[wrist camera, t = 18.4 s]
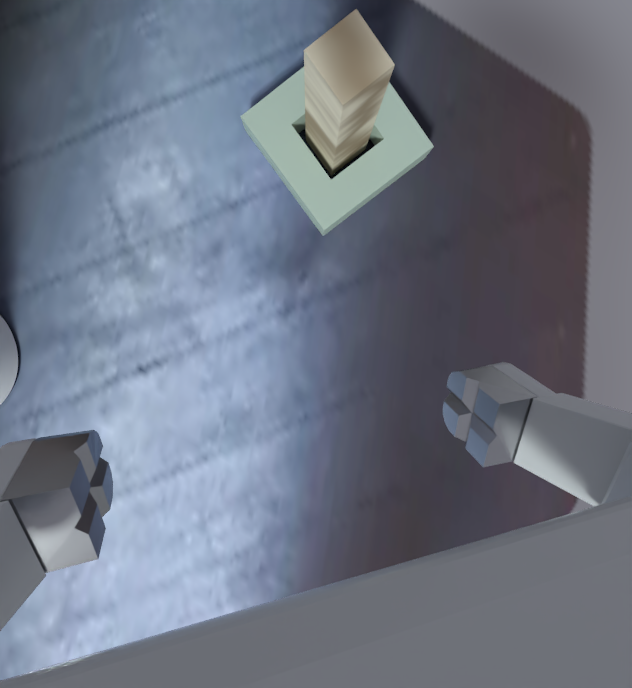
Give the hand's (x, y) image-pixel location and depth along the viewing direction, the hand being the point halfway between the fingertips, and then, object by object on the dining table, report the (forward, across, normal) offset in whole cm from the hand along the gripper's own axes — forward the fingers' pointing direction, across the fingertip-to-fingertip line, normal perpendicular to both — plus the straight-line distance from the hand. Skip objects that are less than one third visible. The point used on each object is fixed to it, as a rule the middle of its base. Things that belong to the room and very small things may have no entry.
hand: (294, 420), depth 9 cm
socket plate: (+36, -13, -6) cm, 39 cm away
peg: (+36, -13, -6) cm, 39 cm away
